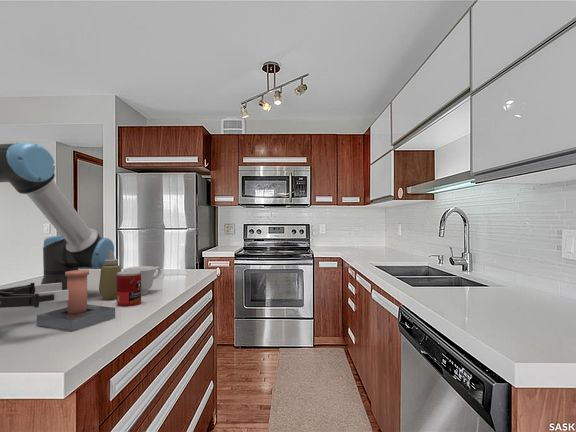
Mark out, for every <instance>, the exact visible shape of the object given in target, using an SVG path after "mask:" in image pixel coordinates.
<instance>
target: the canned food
mask: <svg viewBox="0 0 576 432" xmlns="http://www.w3.org/2000/svg"><path fill="white" fill-rule="evenodd" d="M116 303H117V306H118V307H134V306H137V305H140V304H141V303H142V295H141V272H140V271H124V270H122V271H121V272H118V273H117V299H116Z"/></svg>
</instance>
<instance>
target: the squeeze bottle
mask: <svg viewBox="0 0 576 432" xmlns="http://www.w3.org/2000/svg"><path fill="white" fill-rule="evenodd" d="M114 254H115V252H114V253H113V250H109V253H108V257H107V260H104V266H102V267H101V268H100V276H99V285H98V291H99V294H100V298H101V299H102V300H107V301H111V300H117V273H118V272H122V267H121V265H120V264H119V259H117V258H115V255H114Z"/></svg>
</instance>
